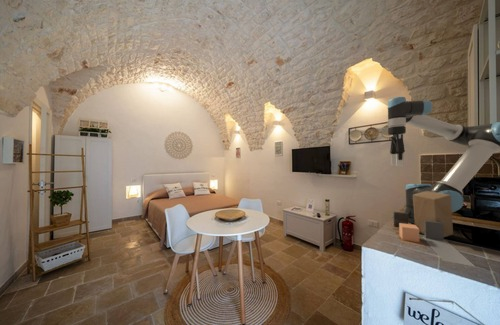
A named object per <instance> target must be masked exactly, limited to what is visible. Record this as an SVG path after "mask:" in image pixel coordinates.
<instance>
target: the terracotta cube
mask: <svg viewBox="0 0 500 325" xmlns="http://www.w3.org/2000/svg"><path fill="white" fill-rule="evenodd" d="M399 235H400V237H401V238H402V240H407V241H414V242H419V239H420V232H419V228H418V227H417V226H416V225H415V224H413V223H408V224H404V223H399Z"/></svg>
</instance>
